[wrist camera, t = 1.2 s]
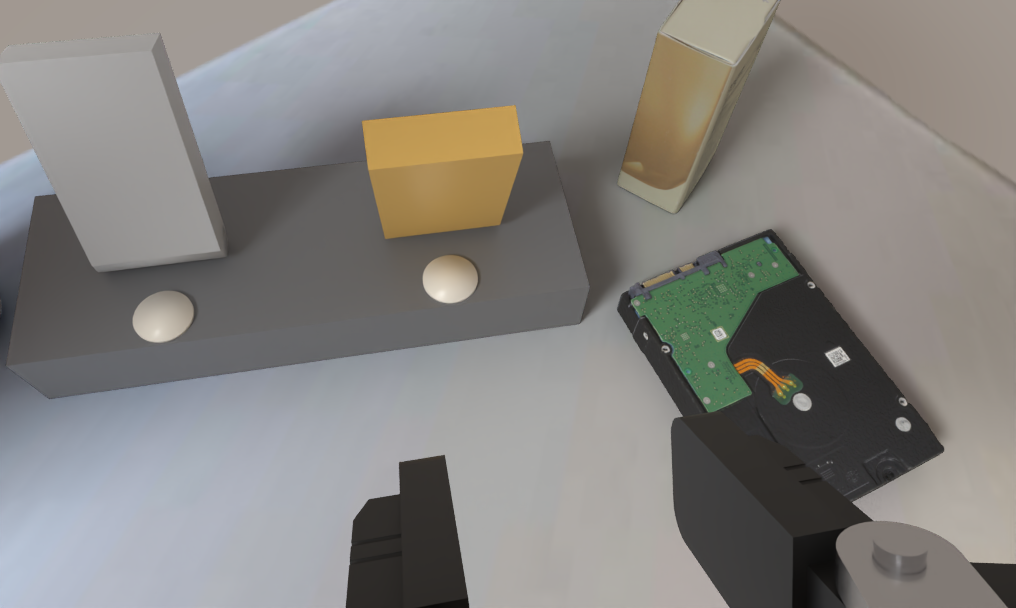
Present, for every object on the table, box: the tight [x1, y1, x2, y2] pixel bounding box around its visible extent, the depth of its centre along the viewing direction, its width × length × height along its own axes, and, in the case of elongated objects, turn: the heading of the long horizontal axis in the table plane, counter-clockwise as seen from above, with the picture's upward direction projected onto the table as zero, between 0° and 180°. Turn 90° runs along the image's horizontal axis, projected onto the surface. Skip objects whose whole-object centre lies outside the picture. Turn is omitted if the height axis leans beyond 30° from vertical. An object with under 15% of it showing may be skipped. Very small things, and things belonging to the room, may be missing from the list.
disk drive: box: [617, 229, 944, 502], centre depth 39 cm, size 10×3×15 cm
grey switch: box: [0, 33, 228, 272], centre depth 33 cm, size 6×2×11 cm, turn 100°
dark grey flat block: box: [6, 141, 590, 399], centre depth 39 cm, size 28×10×4 cm, turn 100°
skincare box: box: [617, 0, 781, 214], centre depth 41 cm, size 6×4×12 cm
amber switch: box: [362, 105, 523, 239], centre depth 33 cm, size 6×2×11 cm, turn 100°
